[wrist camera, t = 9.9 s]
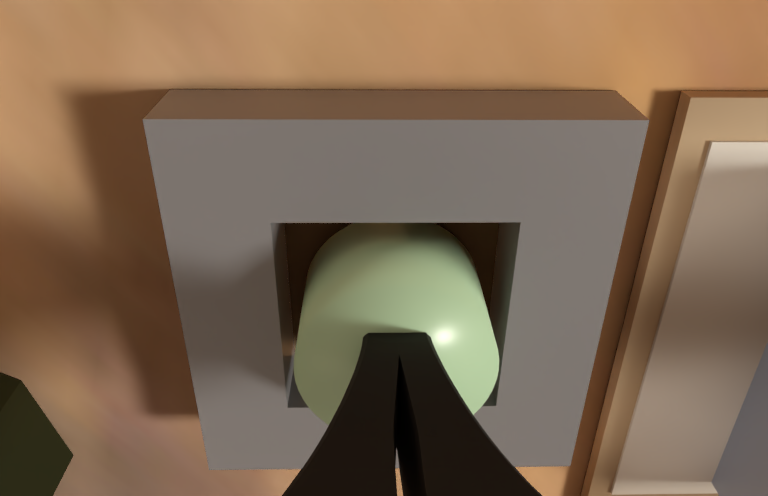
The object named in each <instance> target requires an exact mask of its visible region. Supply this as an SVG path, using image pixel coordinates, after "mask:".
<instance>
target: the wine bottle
mask: <svg viewBox="0 0 768 496" xmlns="http://www.w3.org/2000/svg"><path fill="white" fill-rule="evenodd" d="M72 457H73V454H72V453H71V451H70V450H69V448H68V447H67V445H66V444H65V443H64V441H63V440H62V438H61V437H60V435H59V434H58V433H57V431H56V430H55V428H54V427H53V425H52V424H51V423H50V421H49V420H48V418H47V417H46V415H45V414H44V413H43V411H42V410H41V408H40V407H39V405H38V404H37V403H36V401H35V400H34V398H33V397H32V395H31V394H30V393H29V391H28V390H27V388H26V387H25V385H24V384H23V383H22V381H21V380H18V379H15V378H13V377H10V376H8V375H5V374H2V373H0V496H53V494H54V492H55V490H56V488H57V486H58V484H59V483H60V481H61V479H62V477H63V475H64V473H65V471H66V469H67V467H68V465H69V463H70V461H71V459H72Z"/></svg>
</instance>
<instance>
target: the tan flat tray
mask: <svg viewBox="0 0 768 496" xmlns="http://www.w3.org/2000/svg"><path fill="white" fill-rule="evenodd" d="M767 342H768V91H681V95H680V99H679V103H678V107H677V111H676V115H675V119H674V123H673V127H672V131H671V135H670V139H669V143H668V147H667V151H666V155H665V159H664V163H663V167H662V171H661V175H660V179H659V183H658V187H657V191H656V195H655V199H654V203H653V207H652V211H651V215H650V219H649V223H648V227H647V231H646V235H645V239H644V243H643V247H642V251H641V255H640V259H639V263H638V267H637V271H636V275H635V279H634V283H633V287H632V291H631V295H630V299H629V303H628V307H627V311H626V315H625V319H624V323H623V327H622V332H621V336H620V340H619V344H618V348H617V352H616V356H615V360H614V364H613V368H612V372H611V376H610V380H609V384H608V388H607V392H606V396H605V400H604V404H603V408H602V412H601V416H600V420H599V424H598V428H597V432H596V436H595V440H594V444H593V448H592V452H591V456H590V460H589V464H588V468H587V472H586V476H585V480H584V484H583V488H582V492H581V496H719V495H718V493H717V491H716V489H715V488H714V486H713V484H712V479H713V477H714V474H715V472H716V469H717V467H718V464H719V462H720V459H721V457H722V454H723V452H724V449H725V447H726V444H727V442H728V439H729V437H730V434H731V432H732V429H733V427H734V424H735V422H736V419H737V417H738V414H739V412H740V409H741V407H742V404H743V402H744V399H745V397H746V394H747V392H748V389H749V387H750V384H751V382H752V379H753V377H754V374H755V372H756V369H757V367H758V365H759V362H760V360H761V357H762V355H763V352H764V350H765V347H766V345H767Z"/></svg>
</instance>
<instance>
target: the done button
mask: <svg viewBox="0 0 768 496" xmlns="http://www.w3.org/2000/svg"><path fill="white" fill-rule="evenodd" d="M411 332H426V333H427V334H428V335H429V336H430V337H431V340H432V342H433V345H434V347H435V350H436V352H437V354H438V356H439V358H440V360H441V362H442V364H443V366H444V368H445V370H446V372H447V373H448V375H449V377H450V379H451V380H452V382H453V384H454V386H455V387H456V389H457V390H458V392H459V394H460V395H461V397H462V398H463V400H464V402H465V403H466V405H467V406H468V408H469V409H470V411H471V412H472V414H473V415H474V414H475V413H476V412H477V411H478V410H479V409H480V408H481V407H482V405H483V404H484V403H485V402H486V400H487V399H488V397H489V396H490V394H491V392H492V390H493V388H494V385H495V383H496V380H497V376H498V371H499V353H498V348H497V344H496V340H495V336H494V333H493V329H492V325H491V322H490V318H489V314H488V311H487V307H486V303H485V300H484V296H483V292H482V289H481V285H480V281H479V278H478V274H477V270H476V267H475V264H474V261H473V259H472V257H471V255H470V254H469V252H468V251H467V249H466V248H465V246H464V245H463V244H462V243H461V242H460V241H459V240H458V239H457V238H456V237H455V236H454V235H452V234H451V233H450V232H449V231H447V230H446V229H444V228H442V227H441V226H439V225H437V224H434V223H353V224H351V225H348V226H346V227H345V228H343V229H341V230H340V231H338V232H337V233H335V234H334V235H333V236H332V237H330V238H329V239H328V240H327V241H326V242H325V243H324V244H323V245H322V246H321V248H320V249H319V250H318V252H317V253H316V254H315V256H314V258H313V260H312V262H311V264H310V267H309V270H308V273H307V279H306V285H305V291H304V298H303V304H302V310H301V317H300V323H299V330H298V336H297V343H296V349H295V356H294V376H295V382H296V385H297V388H298V391H299V393H300V395H301V396H302V398H303V400H304V402H305V403H306V404H307V406H308V407H309V408H310V409H311V410H312V411H313V413H314V414H315V415H316V416H317V417H319V418H320V419H321V420H322V421H324V422H325V423H326V424H328V425H329V424H330V422H331V420H332V418H333V416H334V415H335V413H336V411H337V409H338V407H339V405H340V403H341V401H342V399H343V396H344V394H345V392H346V389H347V387H348V385H349V383H350V380H351V378H352V375H353V373H354V370H355V367H356V364H357V361H358V358H359V355H360V351H361V347H362V341H363V337H364V336H365V335H366V334H367V333H411Z"/></svg>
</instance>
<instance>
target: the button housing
mask: <svg viewBox="0 0 768 496" xmlns="http://www.w3.org/2000/svg"><path fill="white" fill-rule="evenodd" d="M143 124H144V129H145V135H146V140H147V145H148V150H149V156H150V161H151V166H152V171H153V177H154V182H155V187H156V192H157V198H158V203H159V208H160V213H161V219H162V224H163V229H164V235H165V240H166V245H167V250H168V256H169V261H170V266H171V271H172V277H173V282H174V287H175V292H176V298H177V303H178V308H179V313H180V319H181V324H182V329H183V335H184V340H185V345H186V350H187V356H188V361H189V366H190V371H191V377H192V382H193V387H194V392H195V398H196V403H197V408H198V413H199V419H200V424H201V429H202V434H203V440H204V445H205V450H206V456H207V461H208V466H209V470H247V469H302V468H303V466H304V465H305V463H306V462H307V460H308V459H309V457H310V456H311V454H312V453H313V451H314V450H315V448H316V447H317V445H318V443H319V442H320V440H321V438H322V437H323V435H324V433H325V431H326V430H327V428H328V426H329V425H328V424H326V423H325V422H324V421H322V420H321V419H320V418H319V417H317V416H316V415H315V414H314V413H313V411H312V410H311V409H310V408H309V407H308V406H307V404H306V403H305V402H304V400H303V398H302V396H301V395H300V393H299V391H298V388H297V385H296V382H295V376H294V356H295V349H294V336H293V323H292V311H291V298H290V286H289V273H288V261H287V248H286V236H285V223H487V222H499V230H498V239H497V248H496V257H495V265H494V274H493V283H492V292H491V300H490V309H489V318H490V322H491V325H492V329H493V333H494V336H495V340H496V344H497V348H498V353H499V371H498V376H497V380H496V383H495V385H494V388H493V390H492V392H491V394H490V396H489V397H488V399H487V400H486V402H485V403H484V404H483V405H482V407H481V408H480V409H479V410H478V411H477V412H476V413H475V414H474V417H475V418H476V419H477V421H478V422H479V424H480V425H481V426H482V428H483V429H484V431H485V432H486V433H487V435H488V436H489V437H490V438H491V440H492V441H493V442H494V444H495V445H496V446H497V447H498V449H499V450H500V451H501V452H502V453H503V455H504V456H505V457H506V458H507V459H508V460H509V462H510V463H511V464H512V465H513V466H514V467H537V466H570V465H571V461H572V456H573V452H574V448H575V443H576V439H577V435H578V430H579V426H580V422H581V417H582V413H583V408H584V404H585V400H586V395H587V391H588V387H589V382H590V378H591V373H592V369H593V365H594V360H595V356H596V352H597V347H598V343H599V338H600V334H601V330H602V325H603V321H604V317H605V312H606V308H607V303H608V299H609V295H610V290H611V286H612V282H613V277H614V273H615V268H616V264H617V260H618V255H619V251H620V247H621V242H622V238H623V234H624V229H625V225H626V220H627V216H628V212H629V207H630V203H631V199H632V194H633V190H634V185H635V181H636V177H637V172H638V168H639V164H640V159H641V155H642V150H643V146H644V142H645V137H646V133H647V129H648V124H649V119H647V118H646V117H645V116H644V115H643V114H642V113H641V112H639V111H638V110H637V109H636V108H635V107H634V106H633V105H632V104H630V103H629V102H628V101H627V100H626V99H625V98H624V97H622V96H621V95H620V94H619V93H618V92H617V91H558V90H209V89H170V90H169V91H168V92H167V93H166V94H165V96H164V97H163V98H162V99H161V100H160V101H159V102H158V103H157V104H156V105H155V106H154V107H153V109H152V110H151V111H150V112H149V113H148V114H147V115H146V116H145V117H144V118H143ZM395 468H399V461H398V454H397V448H396V465H395Z"/></svg>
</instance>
